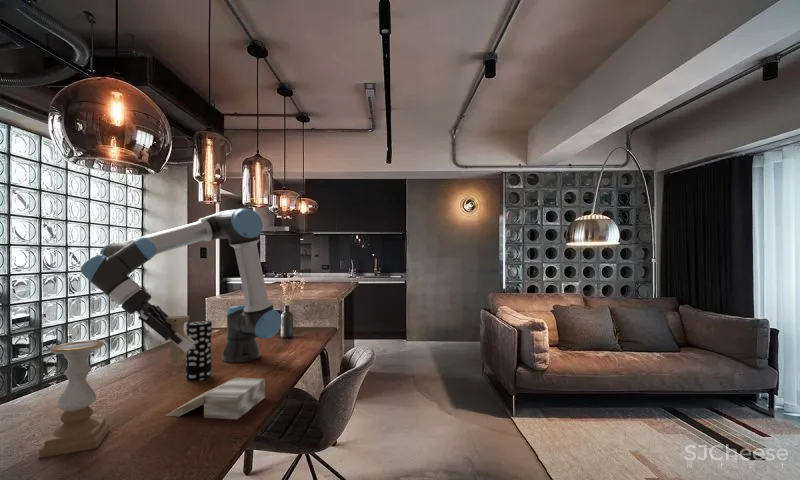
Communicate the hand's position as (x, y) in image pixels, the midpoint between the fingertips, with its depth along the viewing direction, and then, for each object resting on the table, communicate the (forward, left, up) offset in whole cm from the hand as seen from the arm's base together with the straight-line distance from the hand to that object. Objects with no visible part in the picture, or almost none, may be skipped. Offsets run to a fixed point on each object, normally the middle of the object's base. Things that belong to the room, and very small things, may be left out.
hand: (190, 347), depth 123 cm
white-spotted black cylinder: (-20, -11, -16) cm, 28 cm away
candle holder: (+29, -9, -16) cm, 35 cm away
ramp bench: (+4, +12, -18) cm, 22 cm away
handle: (+2, -4, -5) cm, 7 cm away
